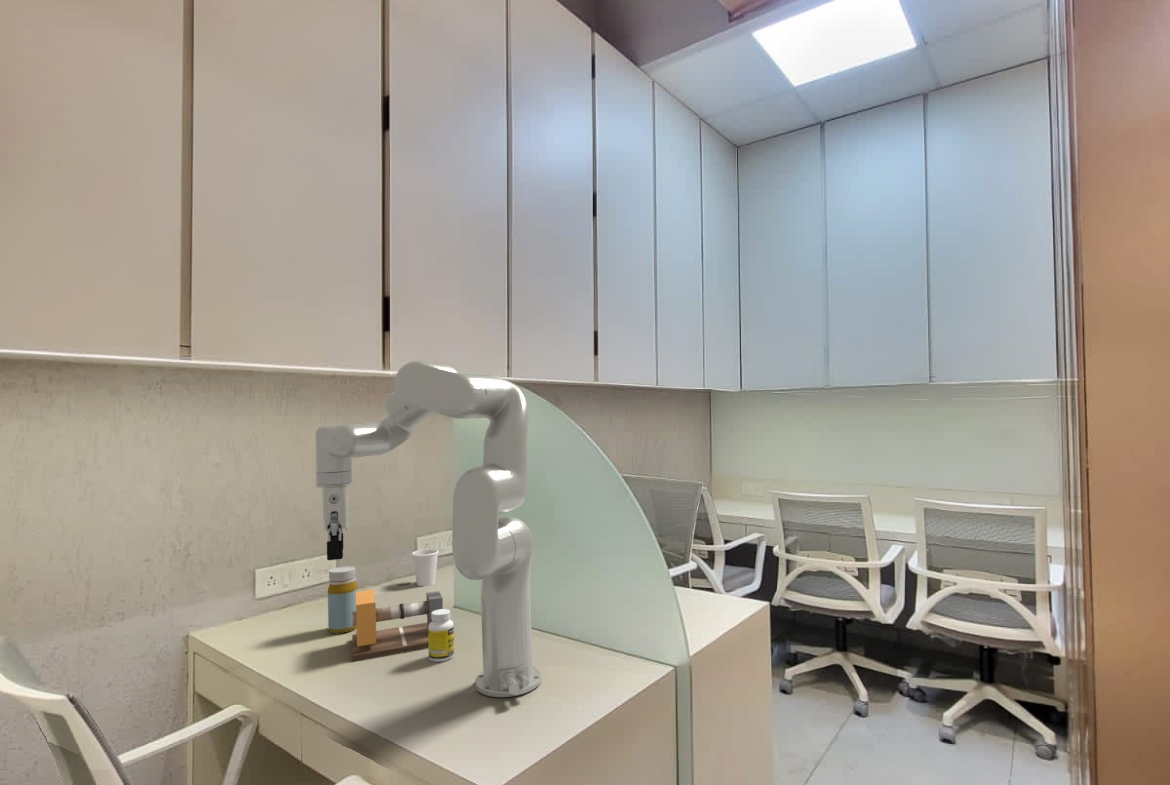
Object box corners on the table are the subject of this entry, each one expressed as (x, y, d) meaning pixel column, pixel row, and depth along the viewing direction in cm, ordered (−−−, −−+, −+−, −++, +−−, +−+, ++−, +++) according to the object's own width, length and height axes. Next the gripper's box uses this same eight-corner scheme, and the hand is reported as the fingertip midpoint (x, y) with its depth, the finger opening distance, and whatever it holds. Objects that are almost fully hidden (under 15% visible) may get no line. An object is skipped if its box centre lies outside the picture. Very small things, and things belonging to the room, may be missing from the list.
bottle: (347, 635, 143) (346, 573, 144) (322, 634, 145) (321, 572, 145) (364, 624, 150) (362, 565, 151) (339, 624, 151) (338, 565, 152)
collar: (376, 643, 130) (375, 602, 130) (357, 646, 129) (356, 605, 129) (374, 627, 140) (373, 589, 141) (356, 630, 139) (355, 592, 139)
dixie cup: (434, 578, 193) (433, 547, 193) (443, 583, 186) (442, 552, 186) (409, 583, 188) (408, 551, 189) (416, 589, 181) (415, 556, 182)
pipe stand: (446, 644, 134) (444, 602, 135) (352, 661, 127) (351, 616, 127) (437, 625, 147) (436, 587, 148) (352, 639, 140) (351, 599, 140)
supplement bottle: (452, 661, 124) (450, 615, 125) (426, 663, 124) (425, 616, 125) (456, 651, 130) (454, 607, 130) (431, 653, 129) (430, 608, 130)
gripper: (351, 481, 127) (353, 560, 127) (351, 475, 143) (353, 545, 143) (314, 484, 124) (315, 565, 124) (318, 477, 140) (319, 549, 140)
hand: (335, 554), depth 133 cm, fingers open, 9 cm apart
